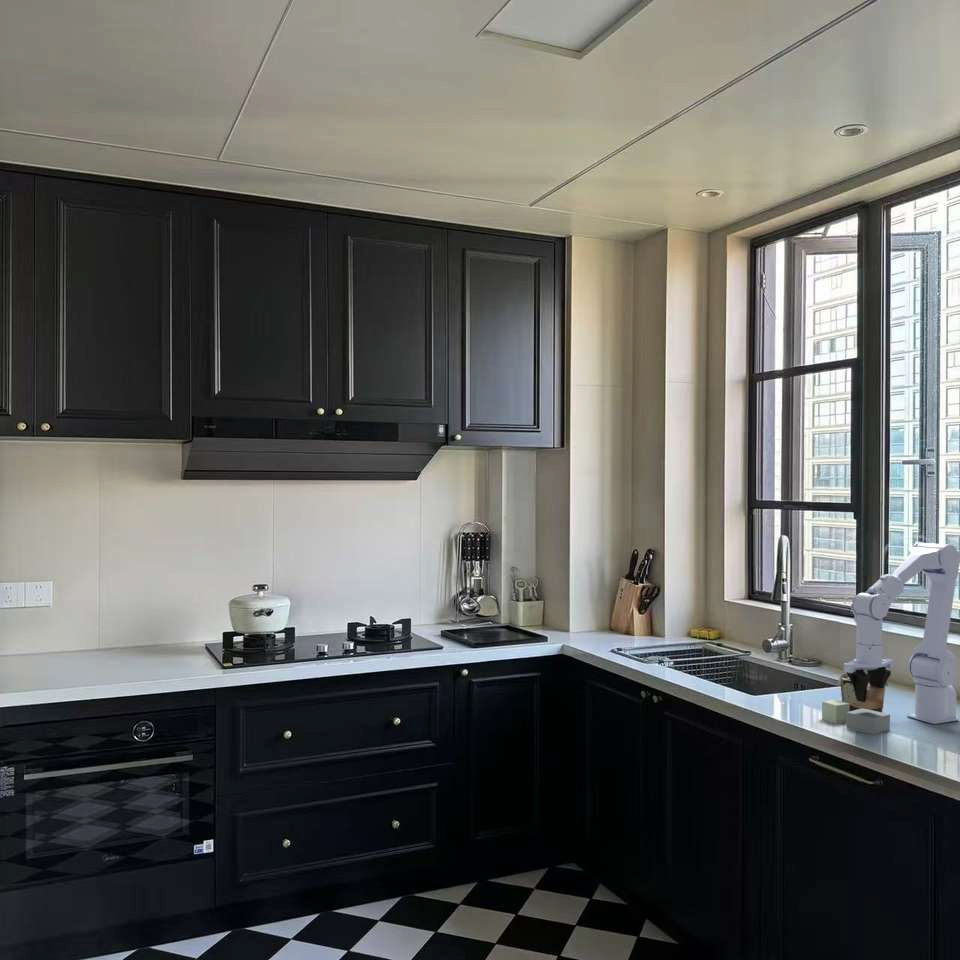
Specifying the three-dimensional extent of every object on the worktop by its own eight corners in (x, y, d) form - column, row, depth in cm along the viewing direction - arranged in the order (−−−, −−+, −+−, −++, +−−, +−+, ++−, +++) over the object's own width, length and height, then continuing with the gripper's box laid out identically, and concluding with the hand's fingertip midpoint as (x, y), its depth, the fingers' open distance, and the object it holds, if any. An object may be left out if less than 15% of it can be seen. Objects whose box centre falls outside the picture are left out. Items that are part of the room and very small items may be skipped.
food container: (876, 711, 235) (876, 672, 235) (887, 717, 229) (888, 677, 229) (829, 711, 235) (829, 672, 235) (839, 717, 229) (839, 677, 229)
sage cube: (835, 717, 229) (835, 699, 229) (849, 721, 225) (849, 703, 225) (821, 719, 227) (822, 701, 227) (836, 723, 223) (836, 705, 223)
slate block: (862, 724, 223) (862, 708, 223) (889, 731, 218) (890, 714, 218) (846, 728, 219) (846, 712, 219) (874, 735, 213) (874, 718, 213)
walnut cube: (867, 703, 221) (867, 684, 221) (883, 707, 217) (883, 688, 217) (854, 705, 219) (854, 686, 219) (869, 709, 215) (869, 690, 215)
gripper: (876, 638, 225) (876, 693, 225) (833, 642, 219) (833, 699, 219) (901, 643, 219) (900, 700, 219) (857, 647, 212) (856, 706, 212)
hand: (868, 700), depth 218 cm, fingers closed on walnut cube, 4 cm apart
